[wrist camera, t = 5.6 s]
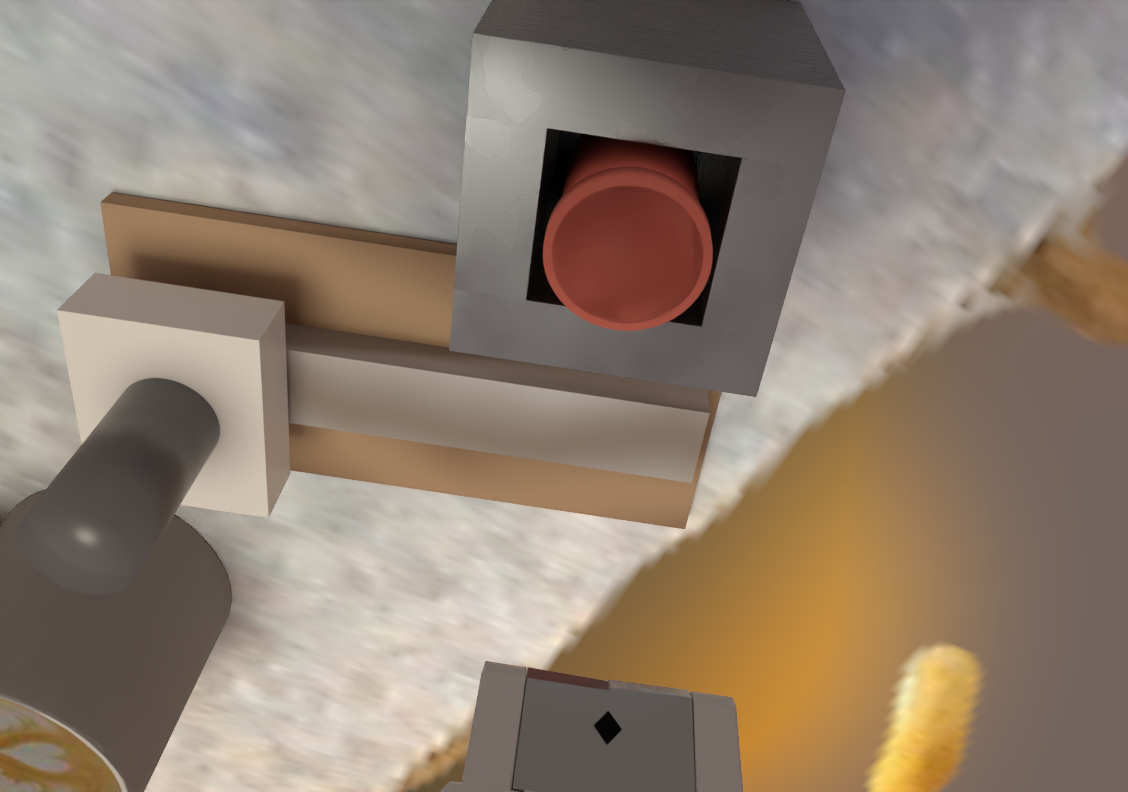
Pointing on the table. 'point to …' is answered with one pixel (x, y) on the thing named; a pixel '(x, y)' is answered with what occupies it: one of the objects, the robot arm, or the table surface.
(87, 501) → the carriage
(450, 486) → the rail bench
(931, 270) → the table surface
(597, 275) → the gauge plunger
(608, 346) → the dark grey holder box
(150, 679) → the coffee mug
